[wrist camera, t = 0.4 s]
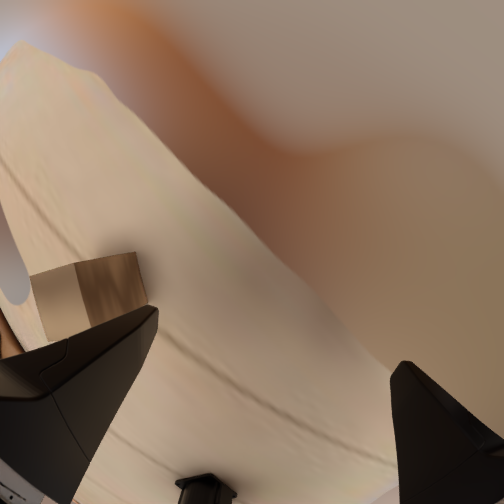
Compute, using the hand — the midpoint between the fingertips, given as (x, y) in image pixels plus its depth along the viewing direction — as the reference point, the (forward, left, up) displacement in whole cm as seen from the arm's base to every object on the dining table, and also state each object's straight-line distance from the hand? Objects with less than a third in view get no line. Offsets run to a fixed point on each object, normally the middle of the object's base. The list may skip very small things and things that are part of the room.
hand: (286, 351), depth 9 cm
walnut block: (-13, +7, -16) cm, 22 cm away
